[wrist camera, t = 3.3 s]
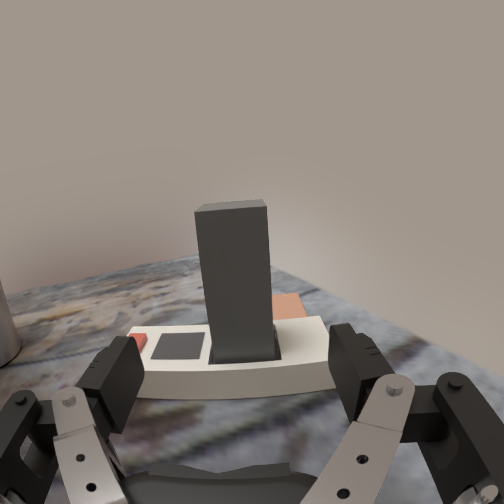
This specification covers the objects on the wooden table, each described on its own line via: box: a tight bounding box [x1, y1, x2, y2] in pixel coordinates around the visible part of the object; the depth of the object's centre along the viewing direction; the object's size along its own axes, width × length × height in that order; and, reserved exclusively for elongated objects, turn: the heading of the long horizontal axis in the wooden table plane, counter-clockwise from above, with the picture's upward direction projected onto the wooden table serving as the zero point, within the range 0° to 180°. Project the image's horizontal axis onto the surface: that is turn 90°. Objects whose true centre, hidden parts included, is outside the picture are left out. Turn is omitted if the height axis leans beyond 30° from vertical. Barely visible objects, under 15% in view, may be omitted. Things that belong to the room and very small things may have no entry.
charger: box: [194, 199, 275, 365], centre depth 22 cm, size 4×5×12 cm
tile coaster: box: [272, 293, 307, 320], centre depth 34 cm, size 8×8×1 cm
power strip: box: [127, 316, 336, 400], centre depth 24 cm, size 22×7×4 cm, turn 92°
